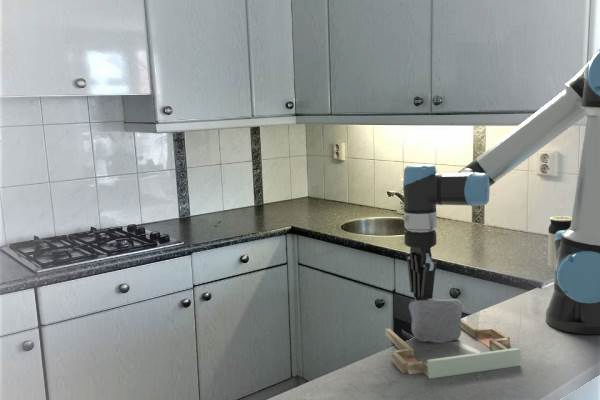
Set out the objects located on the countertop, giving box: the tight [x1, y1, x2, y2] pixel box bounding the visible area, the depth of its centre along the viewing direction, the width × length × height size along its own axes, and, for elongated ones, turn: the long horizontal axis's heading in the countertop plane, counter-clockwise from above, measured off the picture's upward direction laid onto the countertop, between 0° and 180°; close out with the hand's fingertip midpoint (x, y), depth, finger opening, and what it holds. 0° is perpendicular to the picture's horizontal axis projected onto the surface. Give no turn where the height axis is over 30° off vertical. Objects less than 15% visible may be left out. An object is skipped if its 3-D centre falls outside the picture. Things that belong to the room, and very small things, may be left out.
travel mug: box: [547, 215, 572, 267], centre depth 188 cm, size 8×8×18 cm
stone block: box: [408, 298, 463, 344], centre depth 134 cm, size 12×5×10 cm, turn 92°
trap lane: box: [385, 319, 521, 379], centre depth 129 cm, size 28×24×4 cm
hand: (421, 324), depth 142 cm, fingers closed
